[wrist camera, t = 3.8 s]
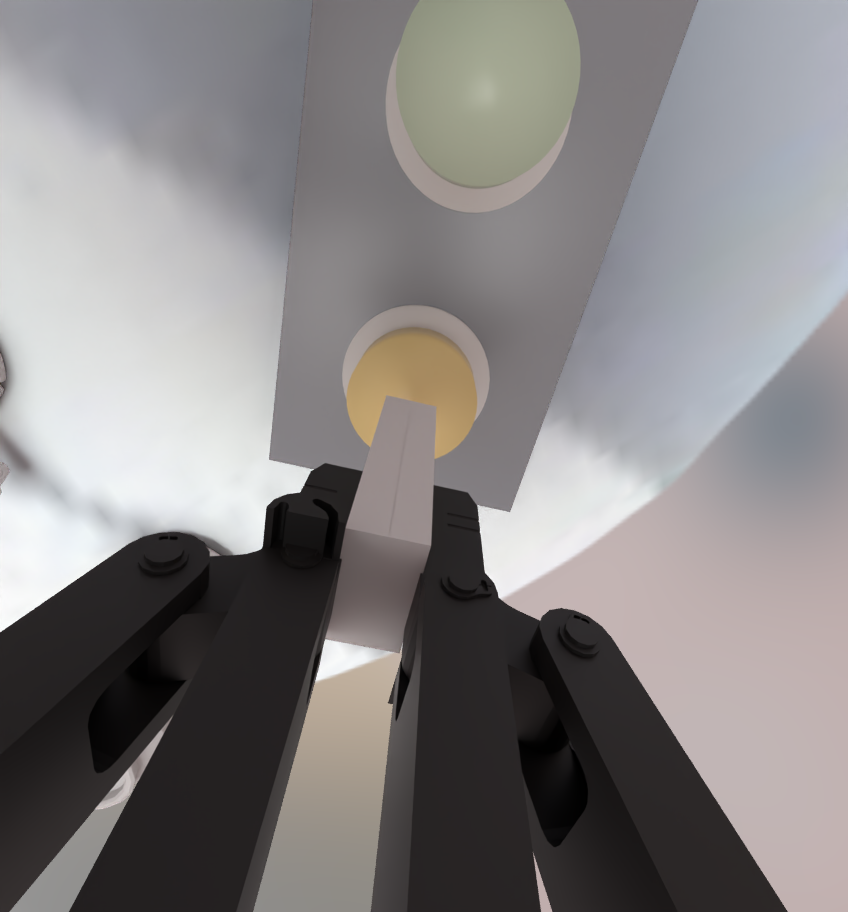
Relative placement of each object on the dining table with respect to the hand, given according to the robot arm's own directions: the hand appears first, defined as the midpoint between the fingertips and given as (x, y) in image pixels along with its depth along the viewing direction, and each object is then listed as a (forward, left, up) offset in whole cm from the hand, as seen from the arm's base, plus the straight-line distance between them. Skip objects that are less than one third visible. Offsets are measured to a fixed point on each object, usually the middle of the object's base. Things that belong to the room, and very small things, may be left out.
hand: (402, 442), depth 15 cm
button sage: (-10, 0, -5) cm, 11 cm away
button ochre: (0, 0, -6) cm, 6 cm away
